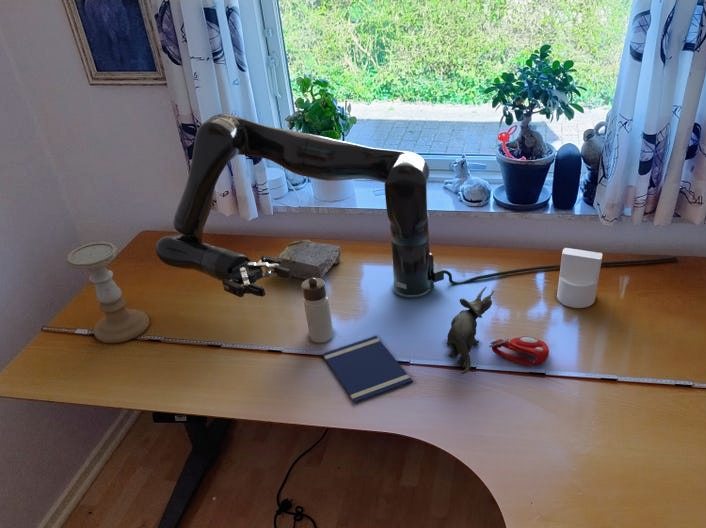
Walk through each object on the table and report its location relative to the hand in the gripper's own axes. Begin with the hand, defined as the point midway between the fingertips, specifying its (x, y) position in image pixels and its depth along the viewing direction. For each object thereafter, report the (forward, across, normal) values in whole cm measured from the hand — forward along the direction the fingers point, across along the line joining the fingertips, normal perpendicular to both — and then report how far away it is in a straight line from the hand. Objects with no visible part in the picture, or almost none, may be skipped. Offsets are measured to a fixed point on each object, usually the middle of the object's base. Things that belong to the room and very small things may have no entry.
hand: (277, 283), depth 141 cm
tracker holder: (+53, +16, +10) cm, 56 cm away
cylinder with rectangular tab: (+55, +43, +10) cm, 71 cm away
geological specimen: (-11, +22, +11) cm, 27 cm away
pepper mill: (+11, 0, +10) cm, 15 cm away
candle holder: (-32, -21, +11) cm, 40 cm away
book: (+27, -4, +10) cm, 29 cm away
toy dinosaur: (+42, +10, +10) cm, 45 cm away
